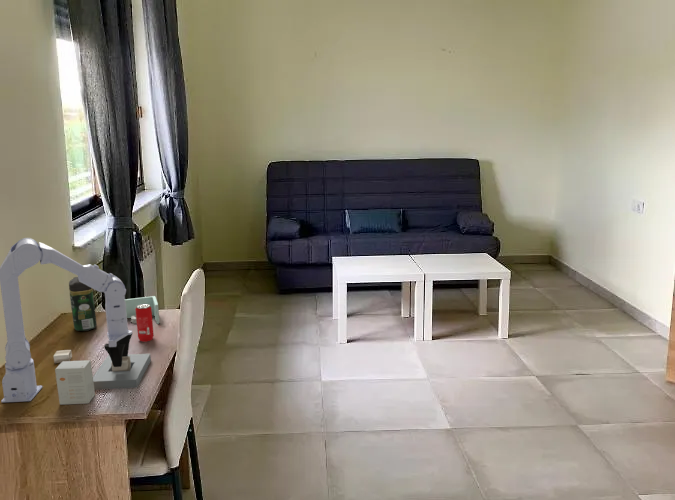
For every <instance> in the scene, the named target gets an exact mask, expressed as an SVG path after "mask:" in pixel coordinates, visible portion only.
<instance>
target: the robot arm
mask: <svg viewBox="0 0 675 500" xmlns="http://www.w3.org/2000/svg"><path fill="white" fill-rule="evenodd" d="M38 263H40V265H46V264H47V265H48V264H53V265H55V266H57V267H59V268H61V269H64V270H65V271H67V272H69V273H72V274H73V275H76V276H77V277H78V279H79V282H81V283H83V284H85V285H87V286H89V287H91V288H93V290H94V291H96V292H99V293H104V298H105V304H104V307H105V309H104V310H105V317H106V328H107V333H106V334H107V335H106V336H107V338H108V339H107V340H108V343H105V344H104V346H103V347H104V350H105V351H106V352H107V354H108V355H109V356H110V358H111V361H112V364H113V366H114V367H121V365H122V357H126V356H128V355H129V348H130V341H131V339H132V336H133V330H130V329H129V326H128V319H127V313H126V302H125V299H126V293H127V289H126V286H125V284H124V283H123V281H122V280H121V279H120V278H119V277H118V276H116V275H114V274H113V273H111V272H109V273H107V272H106V271H104V270H102V269H101V268H100V267H99V265H97V264H95V263H94V264H93V265H92V264H90V263H88V264H84V265H83V264H81V263H79V262H78V261H76V260H74V259H72V258H71V257H69V256H67V255H65V254H64V253H62V252H60V251H59V250H58V249H55V248H53V247H51V246H49V245H47V244H46V243H43V242H40V241H36V240H35V239H33V238H31V237H24V238H21V239H19V240H18V241H16V243H14V244H13V245H12V246H11V247H10V249H9V251H8V253H7V255H6V256H5V258H4V259H3V261H2V263H1V265H0V290H1V291H0V292H1V300H2V307H3V314H4V315H3V317H4V324H5V331H6V343H5V347H4V348H5V364H4V367H5V374H4V376H3V378H2V381H1V384H2V392H3V398H2V399H1V403H20V402H23V403H24V402H31V401H32V400H33V399H34V398H35V397H36V396H37V395H38V393H39V392H40V391H41V390H42V389H43V385H37V378H36V369H35V363H34V361H35V360H34V359H33V358H32V353H31V350H30V349H31V344H30V342H29V340H28V339H27V337H26V334H25V326H24V317H23V311H22V310H23V309H22V301H21V295H20V294H21V293H20V284H19V276H21V275H22V274H23V273H24V272H25V271H26V270H27V269H30V268H32V267H34V266H35V265H36V264H38Z"/></svg>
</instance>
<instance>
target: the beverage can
mask: <svg viewBox="0 0 675 500" xmlns="http://www.w3.org/2000/svg"><path fill="white" fill-rule="evenodd" d="M135 310H136V321H137V324H136V330H137V338H138V340H139V341H140V342H141V343H147V342H151V341H153V340H154V336H155V334H154V325H153V323H154V322H153V316H152V310H151V307H150V305H149V304H141V305H138V306H136V309H135Z"/></svg>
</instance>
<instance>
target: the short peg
mask: <svg viewBox="0 0 675 500" xmlns="http://www.w3.org/2000/svg"><path fill="white" fill-rule="evenodd" d="M72 358H73V354H72V349H64V350H63V349H62V350H56V352H55V353H54V355H53V362H54V364H61V362H63V361H71V359H72Z"/></svg>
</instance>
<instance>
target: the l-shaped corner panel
mask: <svg viewBox="0 0 675 500" xmlns="http://www.w3.org/2000/svg"><path fill="white" fill-rule="evenodd" d="M125 302H126V313H127V318H131V319H130V323H131V322H132V323H131V324H134V325H135V324H136V325H137V321H136V310H135V309H136V306H138V305H141V304H149V305H150V307H151V310H152V315H153V317H154V316H155V317H154V319H155V322H156V325H159V323H160V311H159V302H158V300H157V297H156V296H155V295H152V296H151V295H150V296H143V297H135V298H127V299H126V298H125ZM160 324H161V323H160Z"/></svg>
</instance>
